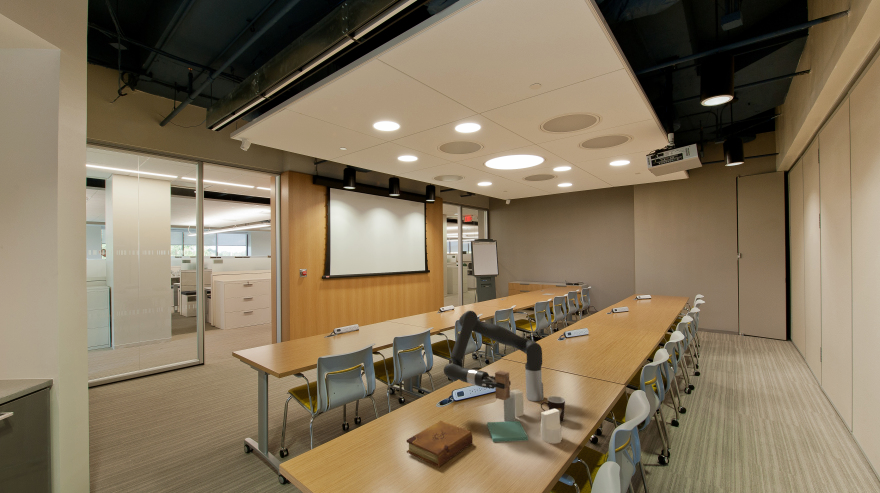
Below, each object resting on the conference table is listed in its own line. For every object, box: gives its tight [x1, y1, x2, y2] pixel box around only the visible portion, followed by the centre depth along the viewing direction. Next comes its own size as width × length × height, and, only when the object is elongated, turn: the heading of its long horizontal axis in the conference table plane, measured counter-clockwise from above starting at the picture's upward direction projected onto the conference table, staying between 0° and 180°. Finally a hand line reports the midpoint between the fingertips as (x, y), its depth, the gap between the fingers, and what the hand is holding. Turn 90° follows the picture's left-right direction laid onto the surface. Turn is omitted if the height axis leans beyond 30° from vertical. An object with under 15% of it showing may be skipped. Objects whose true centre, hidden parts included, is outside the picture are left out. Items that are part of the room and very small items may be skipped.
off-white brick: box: [510, 388, 525, 418], centre depth 185 cm, size 5×5×12 cm
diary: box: [406, 420, 473, 468], centre depth 154 cm, size 23×19×6 cm
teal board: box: [486, 420, 529, 443], centre depth 166 cm, size 16×16×2 cm
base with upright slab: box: [540, 408, 563, 444], centre depth 159 cm, size 9×9×12 cm
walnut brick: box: [494, 369, 511, 401], centre depth 169 cm, size 5×5×12 cm
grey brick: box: [503, 394, 516, 422], centre depth 179 cm, size 5×5×12 cm
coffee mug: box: [540, 395, 566, 423], centre depth 179 cm, size 12×9×10 cm
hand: (507, 384), depth 168 cm, fingers closed on walnut brick, 5 cm apart
